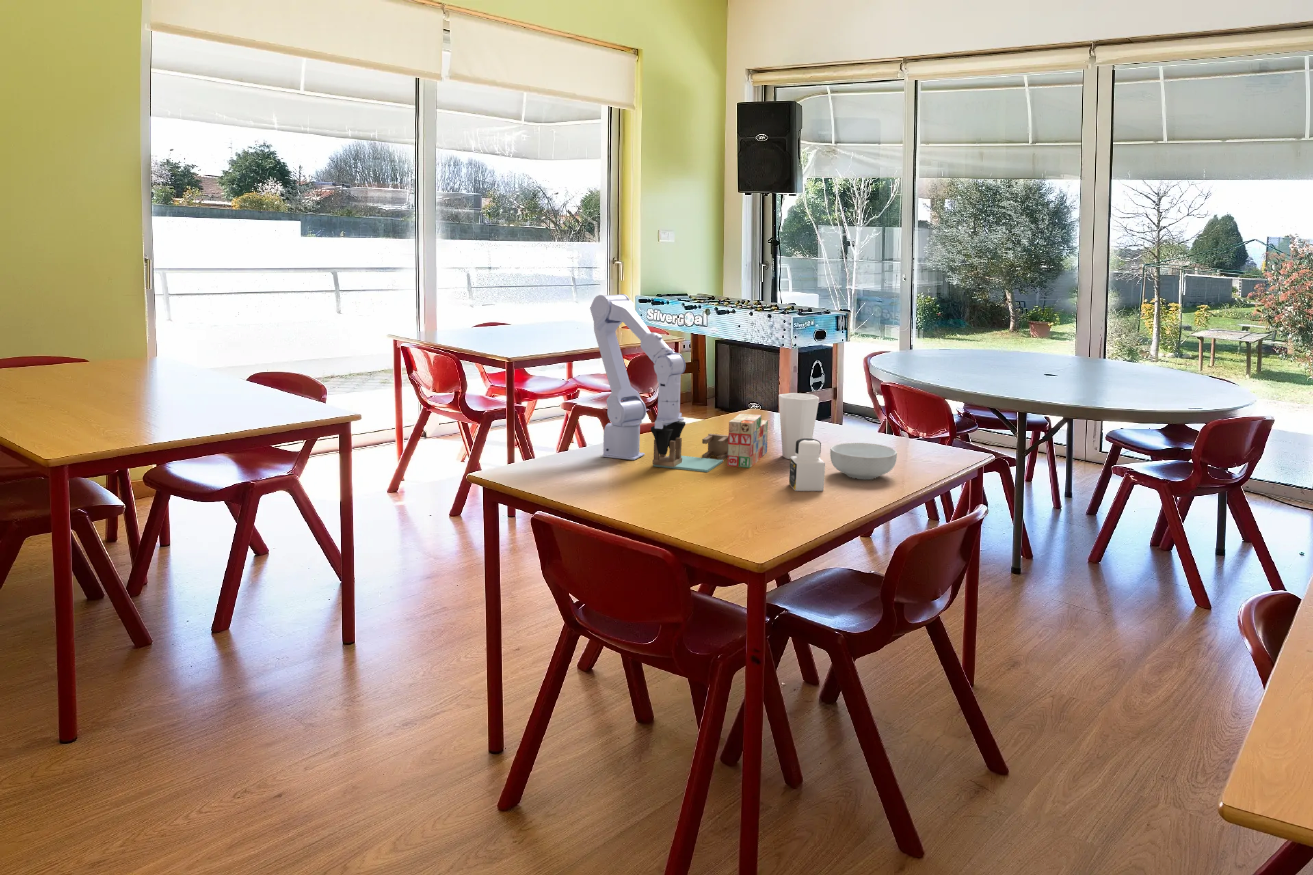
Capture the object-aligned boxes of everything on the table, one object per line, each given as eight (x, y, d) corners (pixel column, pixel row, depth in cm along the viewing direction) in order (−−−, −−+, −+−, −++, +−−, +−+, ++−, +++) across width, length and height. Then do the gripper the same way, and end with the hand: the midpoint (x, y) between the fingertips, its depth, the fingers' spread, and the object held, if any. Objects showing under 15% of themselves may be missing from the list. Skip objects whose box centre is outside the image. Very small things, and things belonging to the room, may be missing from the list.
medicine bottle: (788, 484, 261) (791, 436, 259) (817, 484, 262) (819, 436, 259) (794, 491, 254) (797, 442, 252) (823, 491, 255) (826, 442, 252)
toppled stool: (701, 438, 285) (709, 433, 291) (701, 459, 286) (709, 454, 292) (722, 440, 283) (730, 435, 289) (722, 462, 284) (729, 456, 290)
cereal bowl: (816, 471, 276) (818, 444, 275) (870, 466, 282) (871, 440, 281) (853, 486, 261) (854, 458, 259) (908, 481, 267) (910, 453, 266)
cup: (771, 458, 289) (773, 397, 286) (781, 451, 298) (784, 391, 295) (811, 462, 285) (814, 400, 282) (820, 455, 294) (823, 395, 291)
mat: (653, 466, 277) (653, 463, 277) (671, 456, 289) (671, 454, 289) (707, 472, 272) (707, 469, 271) (723, 462, 283) (723, 460, 283)
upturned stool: (652, 464, 276) (652, 439, 275) (660, 459, 282) (661, 435, 280) (673, 466, 274) (674, 441, 273) (682, 462, 280) (682, 437, 278)
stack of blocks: (745, 450, 299) (747, 408, 297) (767, 452, 297) (769, 409, 295) (726, 466, 279) (728, 420, 277) (750, 468, 278) (752, 422, 275)
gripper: (673, 405, 267) (672, 458, 269) (692, 397, 280) (691, 447, 283) (647, 403, 269) (646, 455, 272) (668, 395, 282) (666, 445, 285)
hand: (667, 451), depth 277 cm, fingers open, 7 cm apart
